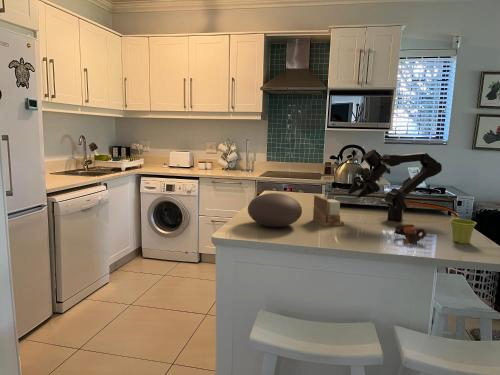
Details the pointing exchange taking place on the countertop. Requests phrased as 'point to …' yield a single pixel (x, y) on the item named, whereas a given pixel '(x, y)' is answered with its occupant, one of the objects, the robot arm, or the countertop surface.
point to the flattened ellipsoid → (274, 210)
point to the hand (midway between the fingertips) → (353, 195)
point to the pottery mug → (410, 233)
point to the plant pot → (462, 230)
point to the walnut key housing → (324, 213)
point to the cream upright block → (332, 207)
